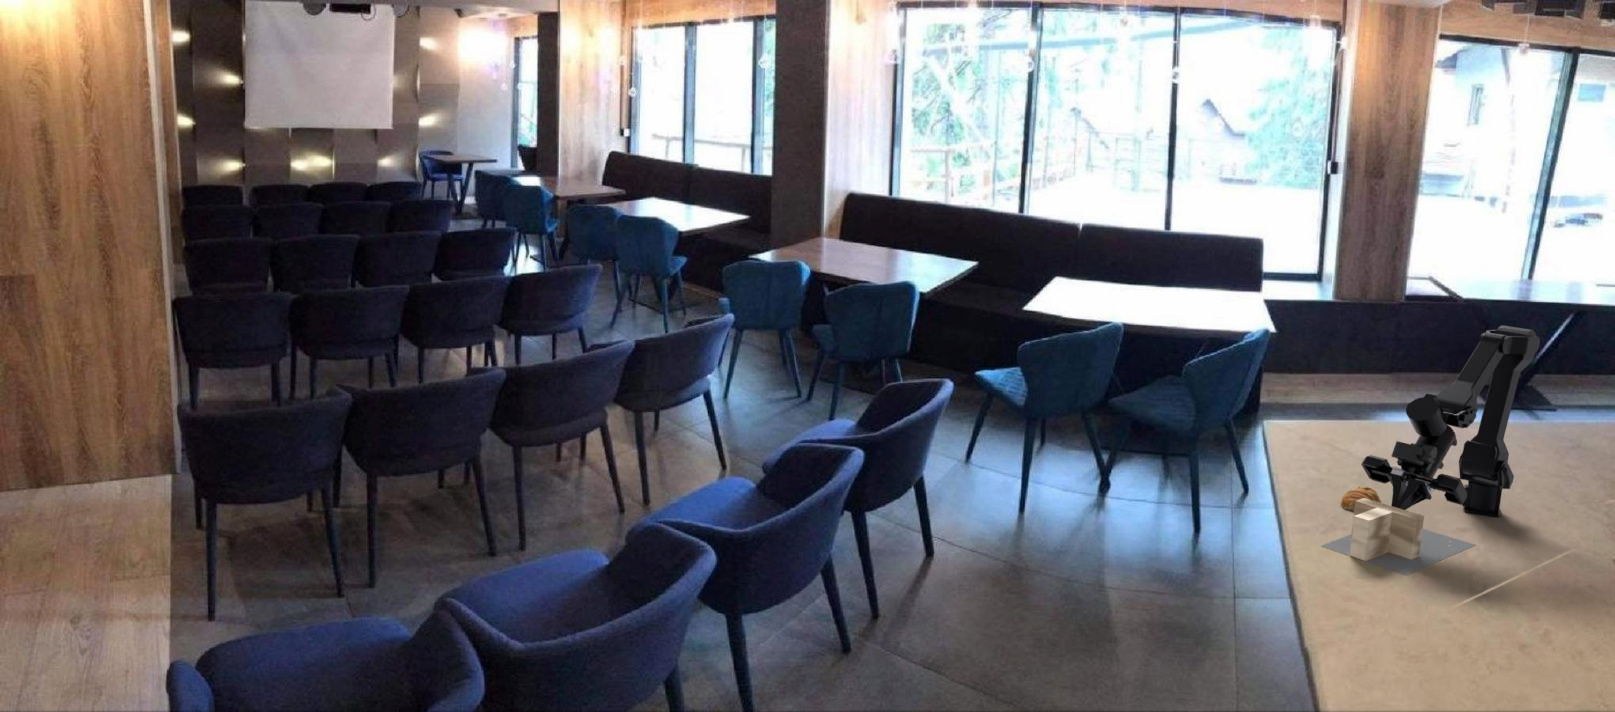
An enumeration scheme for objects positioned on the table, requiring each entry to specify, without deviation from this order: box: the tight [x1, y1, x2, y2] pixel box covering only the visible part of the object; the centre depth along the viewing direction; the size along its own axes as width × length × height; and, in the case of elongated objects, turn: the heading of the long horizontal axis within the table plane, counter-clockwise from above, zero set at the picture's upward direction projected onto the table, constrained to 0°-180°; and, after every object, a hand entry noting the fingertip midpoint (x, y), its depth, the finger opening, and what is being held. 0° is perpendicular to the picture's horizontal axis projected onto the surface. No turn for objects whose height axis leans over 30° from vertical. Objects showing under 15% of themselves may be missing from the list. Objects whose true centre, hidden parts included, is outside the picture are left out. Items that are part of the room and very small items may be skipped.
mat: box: [1320, 528, 1476, 576], centre depth 227 cm, size 26×17×1 cm, turn 125°
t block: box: [1349, 498, 1425, 562], centre depth 223 cm, size 11×12×8 cm
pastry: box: [1340, 486, 1382, 512], centre depth 249 cm, size 9×7×4 cm
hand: (1393, 514), depth 225 cm, fingers closed, pressing on t block
